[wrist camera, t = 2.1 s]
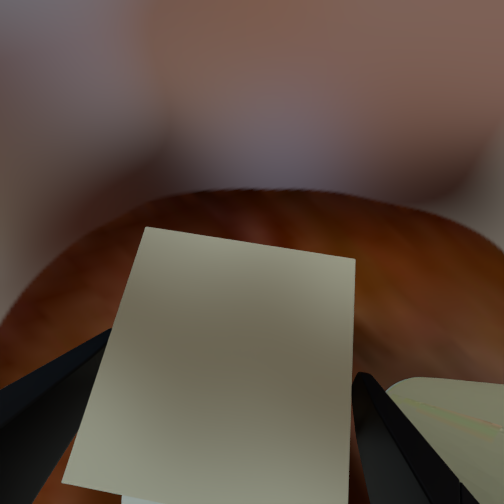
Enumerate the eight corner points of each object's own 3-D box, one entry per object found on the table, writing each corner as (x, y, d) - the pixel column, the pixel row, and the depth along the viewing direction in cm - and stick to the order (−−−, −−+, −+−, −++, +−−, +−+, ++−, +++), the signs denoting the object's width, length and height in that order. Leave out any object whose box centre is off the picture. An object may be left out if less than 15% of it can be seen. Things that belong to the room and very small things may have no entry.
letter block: (277, 391, 17) (358, 543, 4) (199, 377, 17) (61, 482, 4) (286, 314, 18) (363, 260, 6) (215, 302, 18) (146, 226, 6)
